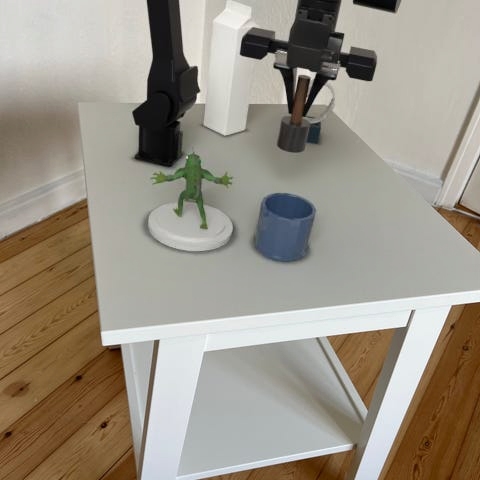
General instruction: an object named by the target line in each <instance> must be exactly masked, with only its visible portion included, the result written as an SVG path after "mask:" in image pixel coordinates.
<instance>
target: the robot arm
mask: <svg viewBox="0 0 480 480" xmlns="http://www.w3.org/2000/svg"><path fill="white" fill-rule="evenodd" d="M145 1H146V8H147V9H146V10H147V18H148V27H149V35H150V44H151V52H152V59H151V64H150V67H149V71H148V75H147V79H146V99H145V100H144V101H143V102H142V103H141V104H140V105H138V106H137V107H136V108H134V109H133V110H132V111H131V114H132V118H133V121H134V125H135V126H138V149H137V150H138V151H137V152H136V153H135V154H134V159H136V160H139V161H142V162H143V161H144V162H148V163H151V164H157V165H160V166H164V167H172V166H173V165H174V163H175V162H176V161H177V160H179V158H180V157H181V156H182V154H183V153H182V152H183V138H184V132H183V131H182V130H181V123H182V121H180V119H182V118H184V117H185V115H186V112H187V111H189V110H190V109H192V107H194V105H195V104H196V103H197V100H198V94H200V93H201V89H200V86H199V66H197V65H192V66H190V64H189V62H188V60H187V58H186V55H185V53H184V44H183V30H182V20H181V18H182V17H181V5H180V0H145ZM401 3H402V0H352V4H353V5H354V6H359V7H364V8H369V9H373V10H378V11H382V12H386V13H391V14H394V15H395V14H397V13H398V10H399V9H400V5H401ZM341 5H342V0H297V3H296V8H295V15H294V20H293V22H292V24H291V26H290V28H289V34H288V40H282V39H277V38H276V31H275V30H270V29H265V28H261V27H260V28H255V27H252V28H251V29H250V30H248V31H247V32H246V34H245V35H244V36H243V37H242V41H241V47H240V55H241V56H243V57H248V58H253V59H255V60H258V61H262V60H263V59H264V58H265V57H266V56H268V54H273V55H274V58H275V59H274V63H272V67H273V69H274V70H278V71H279V72H280V74H281V77H282V80H283V84H284V89H285V90H284V91H285V97H286V105H287V112H288V115H291V113H292V108H293V102H294V96H295V91H296V86H297V78H298V69H302V70H308V71H309V72H310V73H311V72H312V73H315V76H314V78H313V79H314V81H313V84H312V87H311V90H310V92H309V95H308V97H307V99H306V104H305V107H304V112H303V117H305V116H308V113H309V111H310V109H311V107H312V105H313V104H314V102H315V100H316V98H317V97H318V94H319V93H320V92H321V91H322V89H323V88H324V87H325V86H324V85H325V84H326V82H329V81H337V78H338V74H339V71H340V69H341V68H343V69H345V73H346V74H347V76H348V78H349V79H354V80H359V81H364V82H373V79H374V76H375V73H376V69H377V65H378V55H377V53H376V51H375V50H372V49H367V48H363V47H358V46H357V47H356V46H352V45H350V48H349V52H343V51H342V47H343V43H344V40H345V33H344V32H340V31H336V28H337V23H338V19H339V15H340V11H341Z"/></svg>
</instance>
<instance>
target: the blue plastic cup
mask: <svg viewBox="0 0 480 480" xmlns="http://www.w3.org/2000/svg"><path fill="white" fill-rule="evenodd" d="M316 214H317V209H316V207H315V205H314V203H312V202H311V201H310V200H309V199H307V198H304V197H303V196H299V195H297V194H293V193H288V192H273V193H270V194H269V193H268V194H267V195H266V196H264V197H263V198H262V199H261V203H260V208H259V213H258V219H257V225H256V230H255V236H254V247H255V249H256V250H257V252H258V253H260V254H261V255H262V256H264V257H266V258H268V259H271V260H274V261H277V262H294V261H298V260H300V259H302V258H303V257H304V256H305V255H306V253H307V249H308V246H309V241H310V237H311V233H312V229H313V224H314V221H315V217H316Z"/></svg>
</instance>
